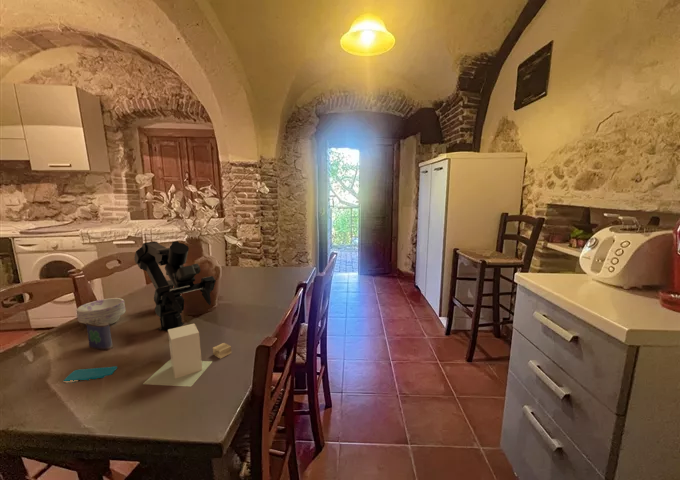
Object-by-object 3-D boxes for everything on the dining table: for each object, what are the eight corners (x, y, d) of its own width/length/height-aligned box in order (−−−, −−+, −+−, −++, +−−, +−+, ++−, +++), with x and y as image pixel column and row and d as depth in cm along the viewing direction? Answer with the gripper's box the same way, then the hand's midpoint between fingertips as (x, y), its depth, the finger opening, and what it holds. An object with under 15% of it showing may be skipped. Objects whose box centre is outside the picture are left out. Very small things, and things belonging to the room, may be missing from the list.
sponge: (107, 378, 86) (118, 364, 91) (60, 382, 84) (75, 367, 90) (108, 383, 86) (119, 368, 92) (61, 386, 84) (76, 371, 90)
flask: (114, 347, 103) (110, 317, 102) (106, 351, 101) (101, 321, 99) (94, 343, 106) (90, 314, 104) (85, 347, 103) (81, 318, 101)
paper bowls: (100, 314, 130) (98, 296, 129) (135, 314, 129) (133, 297, 128) (68, 331, 115) (65, 311, 114) (107, 331, 114) (104, 312, 113)
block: (213, 356, 98) (212, 347, 98) (224, 350, 101) (223, 342, 101) (220, 360, 96) (219, 351, 95) (231, 354, 99) (231, 346, 98)
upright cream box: (171, 366, 91) (167, 329, 89) (197, 358, 96) (194, 323, 93) (175, 378, 86) (170, 339, 84) (202, 369, 90) (199, 332, 88)
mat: (142, 385, 83) (142, 383, 83) (170, 360, 95) (169, 359, 95) (191, 387, 82) (191, 386, 82) (212, 362, 94) (212, 361, 94)
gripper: (150, 263, 95) (168, 299, 88) (208, 253, 108) (228, 284, 101) (147, 287, 100) (163, 323, 93) (203, 275, 114) (221, 305, 107)
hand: (196, 308), depth 99 cm, fingers open, 9 cm apart
